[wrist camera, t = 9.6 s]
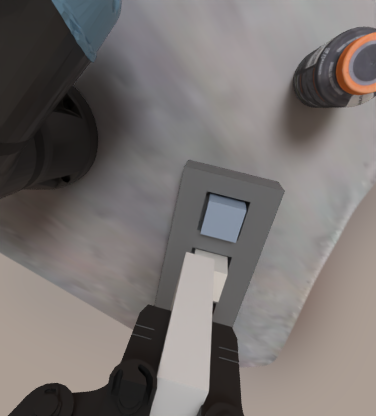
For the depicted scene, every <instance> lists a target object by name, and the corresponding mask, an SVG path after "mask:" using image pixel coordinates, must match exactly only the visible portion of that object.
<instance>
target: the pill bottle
mask: <svg viewBox="0 0 376 416" xmlns="http://www.w3.org/2000/svg"><path fill="white" fill-rule="evenodd" d="M293 86H294V91H295V94H296V96H297V98H298V99H299V100H300V101H301V102H302V103H304V104H305V105H307V106H310V107H315V108H322V107H323V108H328V107H338V108H339V107H353V106H357V105H360V104H363V103H365V102H367V101H369V100H370V99H372V98H373V97H375V96H376V29H375V28H371V27H357V28H353V29H350V30H347V31H345V32H343V33H341V34H340V35H338V36H337V37H335V38H333V39H332V40H330V41H329V42H327V43H326V44H324V45H322V46H321V47H319V48H318V49H316V50H315V51H313V52H312V53H310V54H309V55H307V56H306V57H305V58H304V59H303V60H302V61H301V63H300V64H299V66H298V68H297V70H296V72H295V75H294V85H293Z"/></svg>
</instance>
